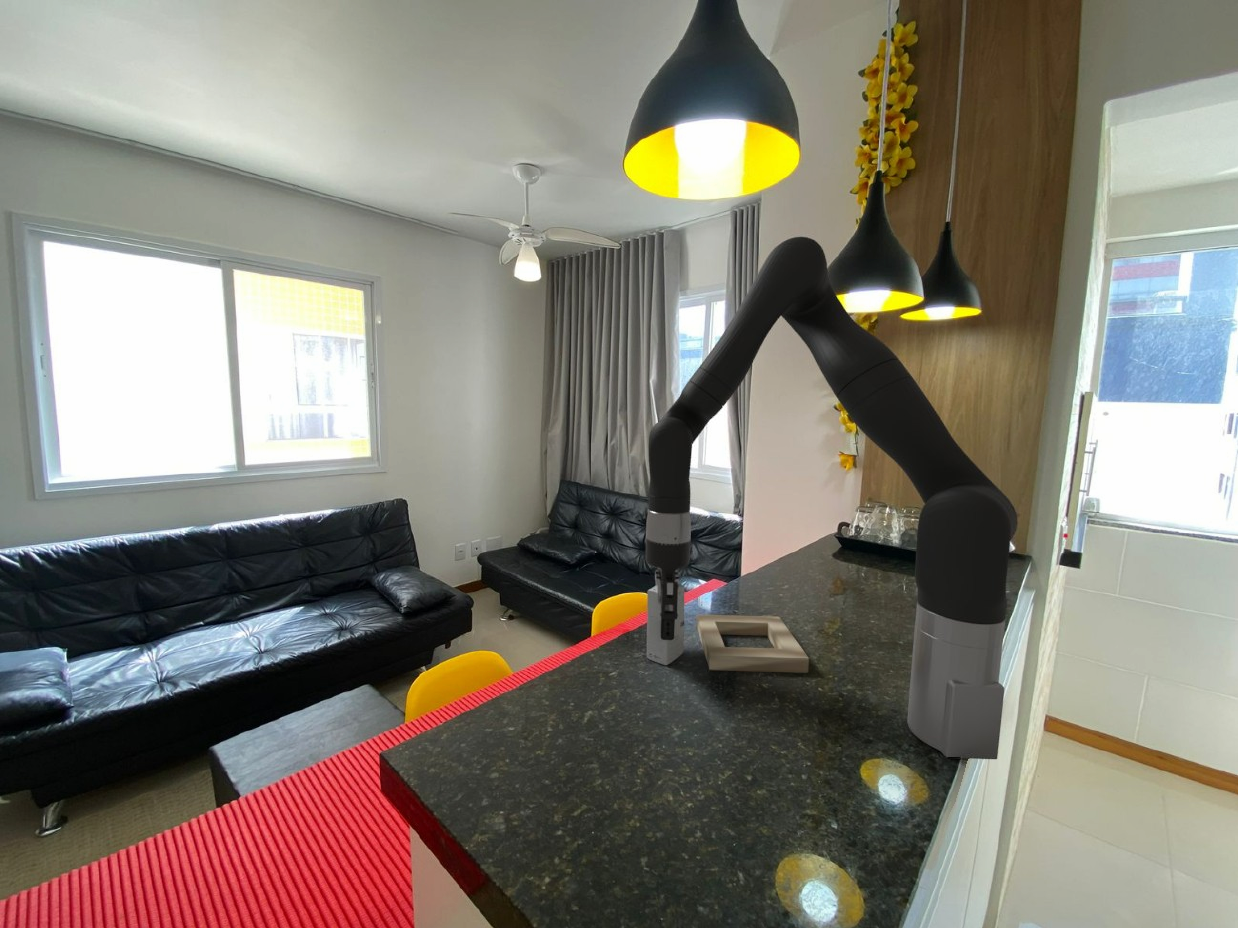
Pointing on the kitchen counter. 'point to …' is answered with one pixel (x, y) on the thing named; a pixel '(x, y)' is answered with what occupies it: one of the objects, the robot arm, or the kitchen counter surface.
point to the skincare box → (656, 646)
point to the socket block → (750, 659)
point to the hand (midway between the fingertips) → (665, 627)
